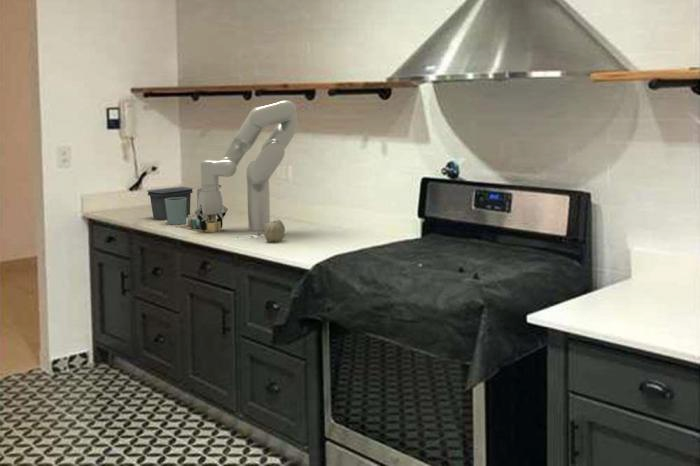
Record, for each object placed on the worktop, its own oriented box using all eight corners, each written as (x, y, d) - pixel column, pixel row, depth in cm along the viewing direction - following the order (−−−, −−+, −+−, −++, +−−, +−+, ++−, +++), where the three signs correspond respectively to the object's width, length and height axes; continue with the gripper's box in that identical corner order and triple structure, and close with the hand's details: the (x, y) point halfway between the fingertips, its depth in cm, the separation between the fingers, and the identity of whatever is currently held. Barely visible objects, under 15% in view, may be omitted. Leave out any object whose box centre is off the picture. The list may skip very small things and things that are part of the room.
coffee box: (210, 223, 388) (209, 189, 385) (197, 222, 389) (196, 189, 387) (217, 220, 397) (215, 187, 394) (204, 219, 398) (203, 186, 395)
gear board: (227, 233, 357) (226, 219, 355) (205, 236, 349) (204, 221, 348) (196, 227, 376) (196, 213, 375) (175, 229, 369) (174, 215, 368)
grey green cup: (189, 224, 384) (188, 199, 382) (167, 225, 380) (166, 200, 378) (185, 221, 393) (184, 196, 391) (164, 222, 390) (162, 197, 388)
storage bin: (160, 221, 395) (158, 192, 392) (143, 218, 405) (141, 189, 403) (197, 216, 409) (196, 188, 407) (180, 213, 420) (178, 186, 418)
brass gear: (223, 230, 355) (223, 221, 354) (208, 232, 350) (208, 223, 349) (214, 229, 360) (214, 220, 360) (199, 230, 356) (199, 221, 355)
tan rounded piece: (281, 245, 340) (288, 222, 341) (283, 245, 332) (289, 222, 332) (259, 239, 339) (266, 216, 339) (260, 239, 331) (267, 215, 331)
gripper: (222, 186, 361) (224, 225, 364) (187, 189, 349) (189, 230, 352) (232, 187, 355) (233, 227, 358) (196, 190, 344) (198, 232, 347)
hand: (211, 228), depth 355 cm, fingers closed on brass gear, 7 cm apart
